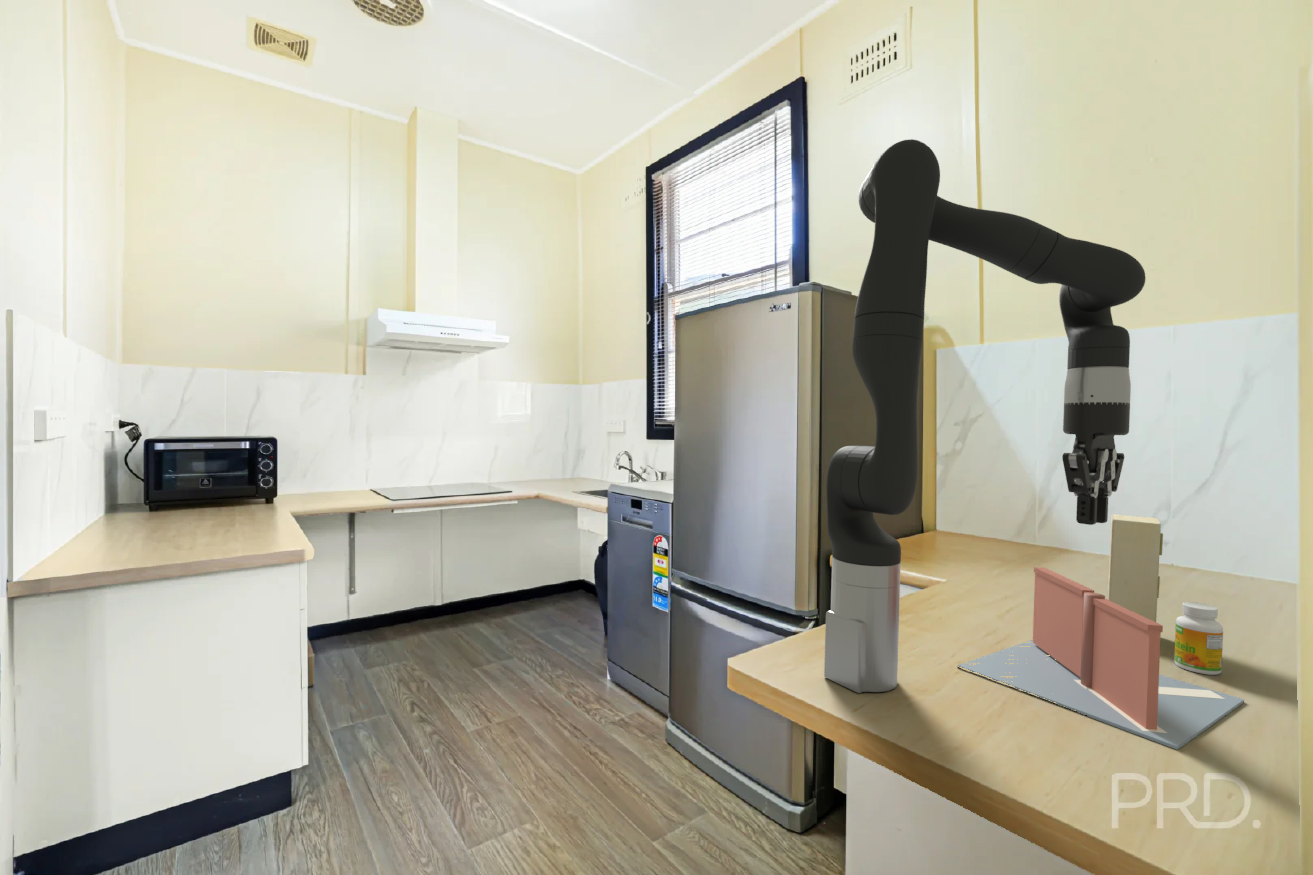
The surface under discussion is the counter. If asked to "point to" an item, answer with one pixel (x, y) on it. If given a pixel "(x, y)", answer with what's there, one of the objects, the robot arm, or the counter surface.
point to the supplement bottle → (1199, 639)
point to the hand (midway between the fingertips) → (1091, 522)
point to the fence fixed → (1121, 658)
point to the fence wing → (1059, 617)
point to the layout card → (1178, 701)
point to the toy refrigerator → (1135, 563)
